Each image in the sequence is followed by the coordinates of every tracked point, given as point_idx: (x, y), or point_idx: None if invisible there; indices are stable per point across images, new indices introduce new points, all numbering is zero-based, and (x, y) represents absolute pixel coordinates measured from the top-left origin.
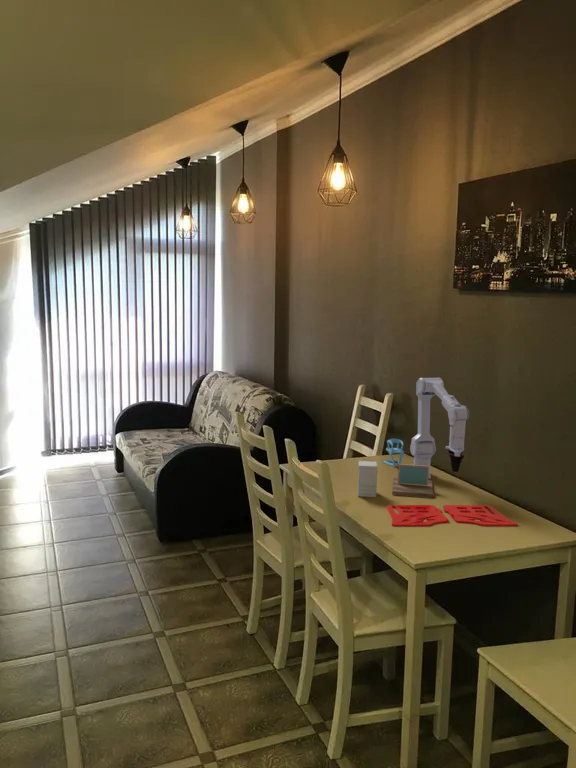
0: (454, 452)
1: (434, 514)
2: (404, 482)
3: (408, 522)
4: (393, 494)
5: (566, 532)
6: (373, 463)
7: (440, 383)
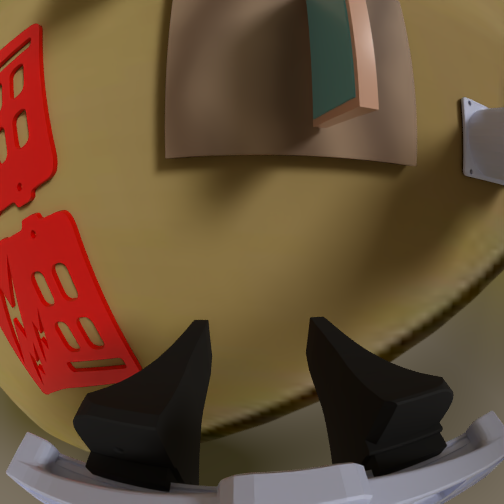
0: (35, 469)
1: None
2: (308, 12)
3: None
4: None
5: (74, 444)
6: None
7: None
